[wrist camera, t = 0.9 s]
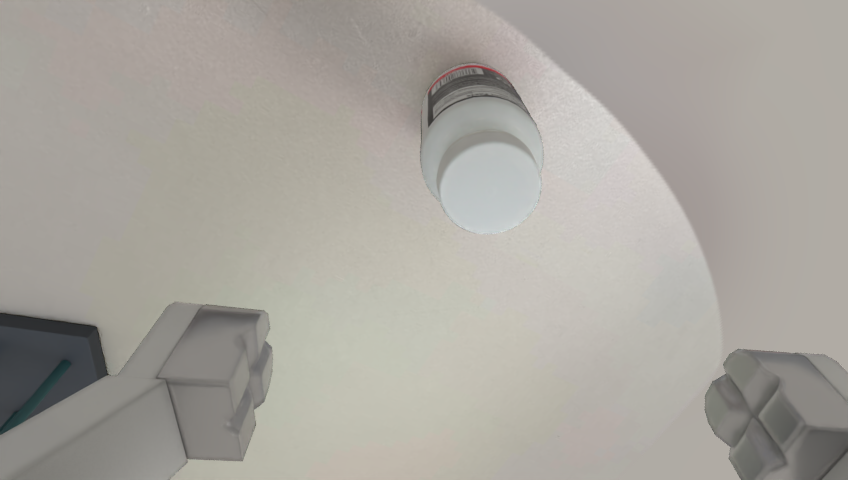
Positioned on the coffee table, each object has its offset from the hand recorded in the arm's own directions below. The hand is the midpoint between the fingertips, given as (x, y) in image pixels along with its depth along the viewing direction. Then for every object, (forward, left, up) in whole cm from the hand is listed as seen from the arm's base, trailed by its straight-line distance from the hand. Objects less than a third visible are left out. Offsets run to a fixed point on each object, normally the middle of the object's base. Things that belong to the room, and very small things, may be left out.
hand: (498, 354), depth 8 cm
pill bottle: (+2, +1, -20) cm, 21 cm away
